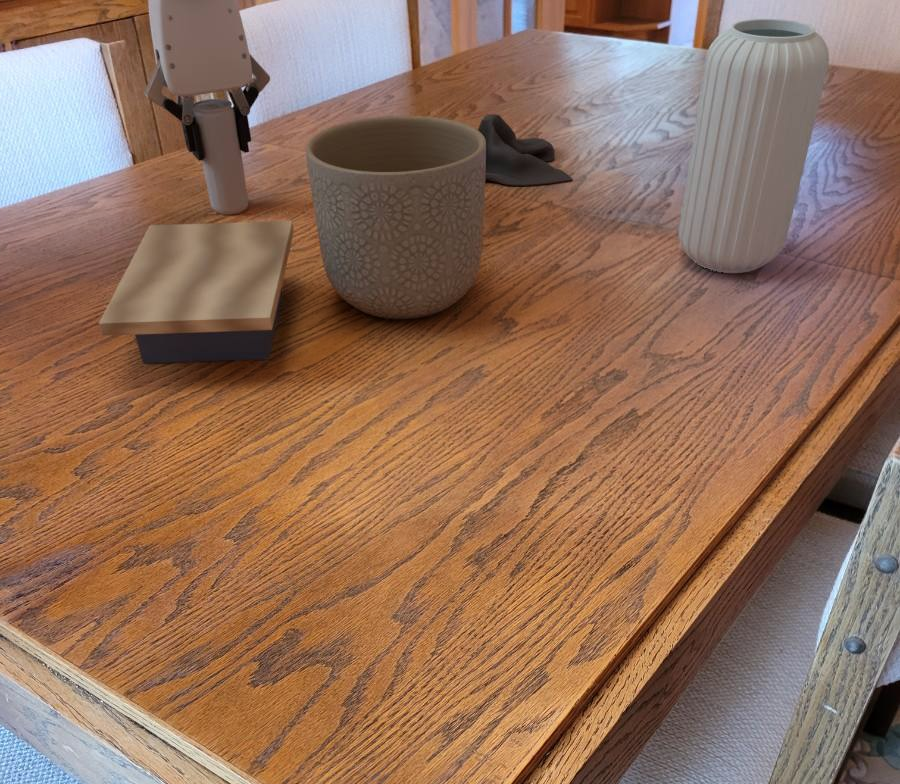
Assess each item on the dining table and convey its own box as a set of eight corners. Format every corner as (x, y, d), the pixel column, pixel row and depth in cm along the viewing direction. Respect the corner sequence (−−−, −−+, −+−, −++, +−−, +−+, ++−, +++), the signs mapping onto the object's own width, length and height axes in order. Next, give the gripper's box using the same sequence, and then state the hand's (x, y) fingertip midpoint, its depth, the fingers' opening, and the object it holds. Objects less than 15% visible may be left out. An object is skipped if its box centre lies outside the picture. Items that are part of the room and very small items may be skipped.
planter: (515, 309, 92) (520, 150, 82) (367, 352, 87) (352, 186, 76) (435, 252, 103) (431, 105, 93) (299, 287, 97) (277, 133, 87)
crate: (143, 363, 86) (129, 314, 82) (170, 298, 96) (159, 251, 92) (269, 359, 86) (260, 309, 83) (283, 294, 96) (276, 247, 93)
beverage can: (238, 198, 116) (220, 96, 108) (257, 209, 114) (240, 104, 105) (204, 208, 114) (183, 104, 106) (223, 219, 112) (203, 113, 103)
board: (102, 335, 79) (98, 323, 79) (152, 236, 95) (149, 225, 95) (272, 330, 80) (270, 317, 79) (294, 231, 96) (292, 220, 95)
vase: (653, 257, 101) (685, 27, 86) (717, 230, 106) (759, 9, 91) (737, 291, 95) (788, 49, 79) (801, 260, 100) (861, 27, 84)
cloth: (398, 180, 120) (396, 130, 116) (444, 137, 133) (443, 90, 129) (561, 196, 115) (564, 145, 111) (592, 150, 127) (596, 102, 123)
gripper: (252, -40, 102) (277, 133, 115) (101, -24, 97) (144, 156, 109) (274, -30, 97) (297, 150, 110) (116, -13, 92) (159, 175, 104)
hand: (220, 151), depth 109 cm, fingers closed on beverage can, 4 cm apart
